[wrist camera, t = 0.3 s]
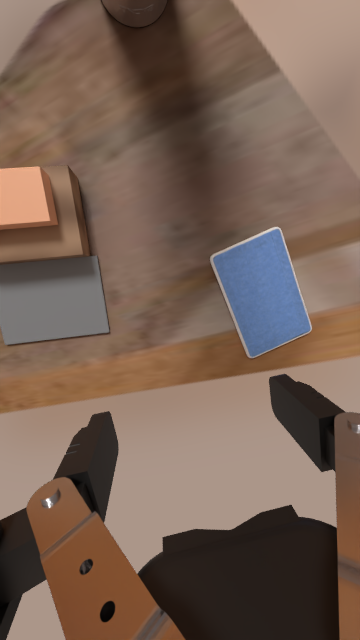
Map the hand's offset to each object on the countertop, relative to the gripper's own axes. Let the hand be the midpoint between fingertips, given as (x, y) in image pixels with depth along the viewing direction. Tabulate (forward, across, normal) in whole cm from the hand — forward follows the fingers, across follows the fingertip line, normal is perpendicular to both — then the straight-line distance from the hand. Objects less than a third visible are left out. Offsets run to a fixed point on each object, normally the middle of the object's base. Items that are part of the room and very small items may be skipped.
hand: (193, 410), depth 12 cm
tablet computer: (+29, -17, 0) cm, 33 cm away
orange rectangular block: (+23, +16, -18) cm, 34 cm away
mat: (+28, +17, -5) cm, 33 cm away
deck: (+28, +16, -17) cm, 37 cm away
